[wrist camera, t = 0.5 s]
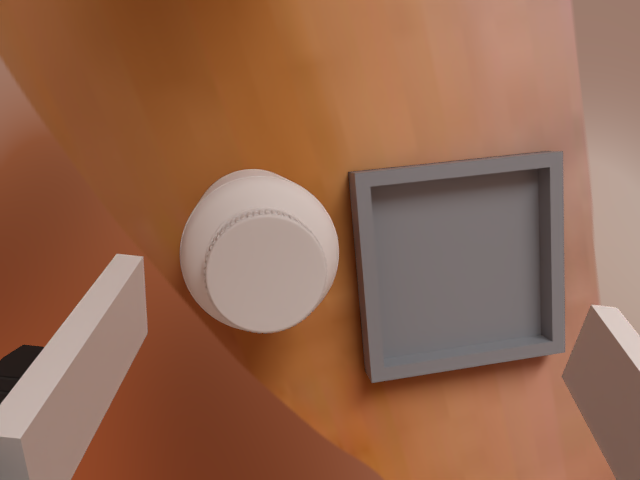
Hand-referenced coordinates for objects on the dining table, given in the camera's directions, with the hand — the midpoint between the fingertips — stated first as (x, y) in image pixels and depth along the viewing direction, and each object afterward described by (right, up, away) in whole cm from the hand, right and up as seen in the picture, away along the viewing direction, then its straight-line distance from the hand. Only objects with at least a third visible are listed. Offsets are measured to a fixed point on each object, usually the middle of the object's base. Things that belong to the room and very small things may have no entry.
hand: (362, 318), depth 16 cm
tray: (+9, +1, +24) cm, 26 cm away
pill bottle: (-6, +3, +21) cm, 23 cm away
